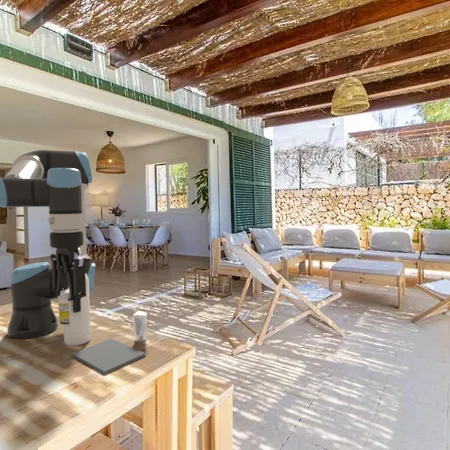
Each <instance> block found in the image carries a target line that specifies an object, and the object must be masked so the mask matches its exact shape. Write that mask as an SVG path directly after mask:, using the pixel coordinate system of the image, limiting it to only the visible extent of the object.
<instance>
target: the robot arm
mask: <svg viewBox="0 0 450 450" xmlns="http://www.w3.org/2000/svg"><path fill="white" fill-rule="evenodd" d="M92 175H93V174H92V168H91V163H90V158H89V155H88V154H87V153H85V152H83V151H82V152H81V151H75V150H74V151H70V150H69V151H68V150H48V149H40V150H38V149H37V150H33V151H30V152H26V153H24V154H21V155H20V156H18V157H17V158H16V159H14V160H13V162H12V165H11V169H10V170H9V171H8V173H6V174H5V175H4V177H0V208H3V209H5V208H29V207H30V208H38V207H39V208H40V207H42V208H43V207H44V208H45V207H46V208H48V217H49V218H47V222H48V223H49V230H51V232H50V233H49V246H50V247H51V248H54V249H56V251H55V253H51V254H50V259H51V260H50V261H51V264H50V262H48V261H44V262H43V261H41V262H34V263H33V262H32V263H29V264H24V265H21V266H19V267H16V268H14V269H13V270H12V271H11V275H10V285H11V286H10V287H11V304H12V313H11V316H10V319H9V322H8V325H7V329H6V330H7V336H8V337H9V338H11V339H19V340H21V339H22V340H23V339H32V338H36V337H37V338H38V337H41V336H44V335H47V334H49V333H52V332H54V331H55V330H57V329H58V326H59V325H58V320H59V322H60V313H59V312H58V319H57V316H56V313H55V312H54V309H53V306H52V300H54V299H57V300H58V301H57V302H58V303H57V304H58V307H59V300H60V299H61V297H60V291H62V290H65V289H68V285H69V292H70V298H69V299H68V301H69V324H70V326H74V325H77V324H80V323H82V321H81V298H82V297H86V277H85V273H86V275H87V277H88V279H89V295H91V294H92V293H93V291H94V287H95V286H94V285H95V284H94V283H95V276H96V267H97V266H96V263H95V262H92V257H90V256H89V255H88V253H87V252H88V251H87V234H86V233H87V227H86V204H85V202H86V201H85V191H87V189H88V188H89V184H91V183H92V182H93V176H92ZM78 248H80V249H81V257H80V256H79V251H78ZM71 268H73V269H71Z"/></svg>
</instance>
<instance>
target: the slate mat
mask: <svg viewBox="0 0 450 450" xmlns="http://www.w3.org/2000/svg"><path fill="white" fill-rule="evenodd" d="M71 357H73V358H75V359H76V360H79V362H81V363H84V364H86V365H87V366H89V367H91V368H92V369H95V370H96V371H98V372H99V373H101V374H103V375H106V374H108V373H111V372H113V371H115V370H117V369H119V368H122V367H124V366H126V365H128V364H130V363H133V362H135V361H137V360H140V359H141V358H144V357H146V353H145V352H143V351H141V350H139V349H136V348H133V347H131V346H129V345H127V344H125V343H122V342H120V341H118V340H115V339H113V338H110V339H107V340H104V341H102V342H99V343H96V344H93V345H91V346H88V347H85V348H83V349H80V350H78V351H74V352H71Z"/></svg>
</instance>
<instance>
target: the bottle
mask: <svg viewBox="0 0 450 450" xmlns="http://www.w3.org/2000/svg"><path fill="white" fill-rule="evenodd" d="M78 251H79V256H80V257H81V249H80V248H78ZM71 269H73V268H71ZM85 277H86V297H82V298H81V321H82V323H80V324H77V325H74V326H63V341H64V344H65V345H66V346H70V347H71V346H73V347H74V346H81V345H84V344H87V343H88V342H89V341H90V340H91V338H92V329H91V310H90V309H91V308H90V294H89V279H88V277H87V275H86V273H85ZM68 289H69V285H68Z"/></svg>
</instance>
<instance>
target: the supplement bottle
mask: <svg viewBox="0 0 450 450" xmlns="http://www.w3.org/2000/svg"><path fill="white" fill-rule="evenodd" d="M60 297H61V299H60V300H59V306H58V314H59V313H60V321H59V325H61V326H62V327H64V326H70V324H69V301H68V299H69V298H70V292H69V289H65V290H62V291H60Z"/></svg>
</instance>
